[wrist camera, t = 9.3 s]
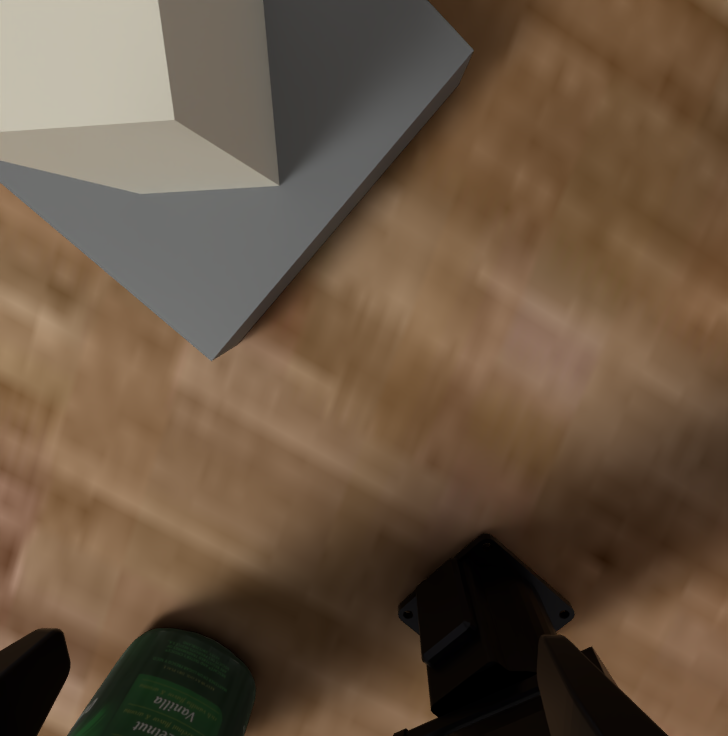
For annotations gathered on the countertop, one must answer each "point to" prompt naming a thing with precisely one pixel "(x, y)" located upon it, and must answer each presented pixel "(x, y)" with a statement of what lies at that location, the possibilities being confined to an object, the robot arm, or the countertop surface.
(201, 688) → the coffee jar
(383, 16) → the podium
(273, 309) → the countertop surface
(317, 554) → the countertop surface
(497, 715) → the robot arm
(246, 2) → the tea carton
